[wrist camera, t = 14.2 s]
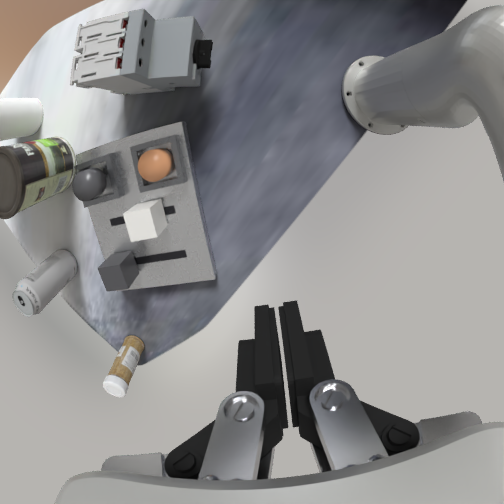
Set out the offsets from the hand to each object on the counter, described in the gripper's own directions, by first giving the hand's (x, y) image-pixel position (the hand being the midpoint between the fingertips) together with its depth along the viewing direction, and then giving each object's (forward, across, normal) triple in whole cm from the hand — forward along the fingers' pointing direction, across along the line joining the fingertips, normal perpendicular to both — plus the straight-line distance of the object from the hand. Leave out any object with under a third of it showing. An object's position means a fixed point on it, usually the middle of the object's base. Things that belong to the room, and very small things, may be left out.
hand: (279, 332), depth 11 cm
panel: (+32, +18, +1) cm, 37 cm away
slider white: (+29, +16, +1) cm, 33 cm away
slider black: (+29, +23, +8) cm, 38 cm away
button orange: (+29, +13, -6) cm, 32 cm away
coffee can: (+32, +34, -11) cm, 48 cm away
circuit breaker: (+32, +10, -20) cm, 39 cm away
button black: (+27, +23, -6) cm, 36 cm away
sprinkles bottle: (+32, +30, +27) cm, 52 cm away
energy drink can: (+32, +38, +7) cm, 50 cm away
